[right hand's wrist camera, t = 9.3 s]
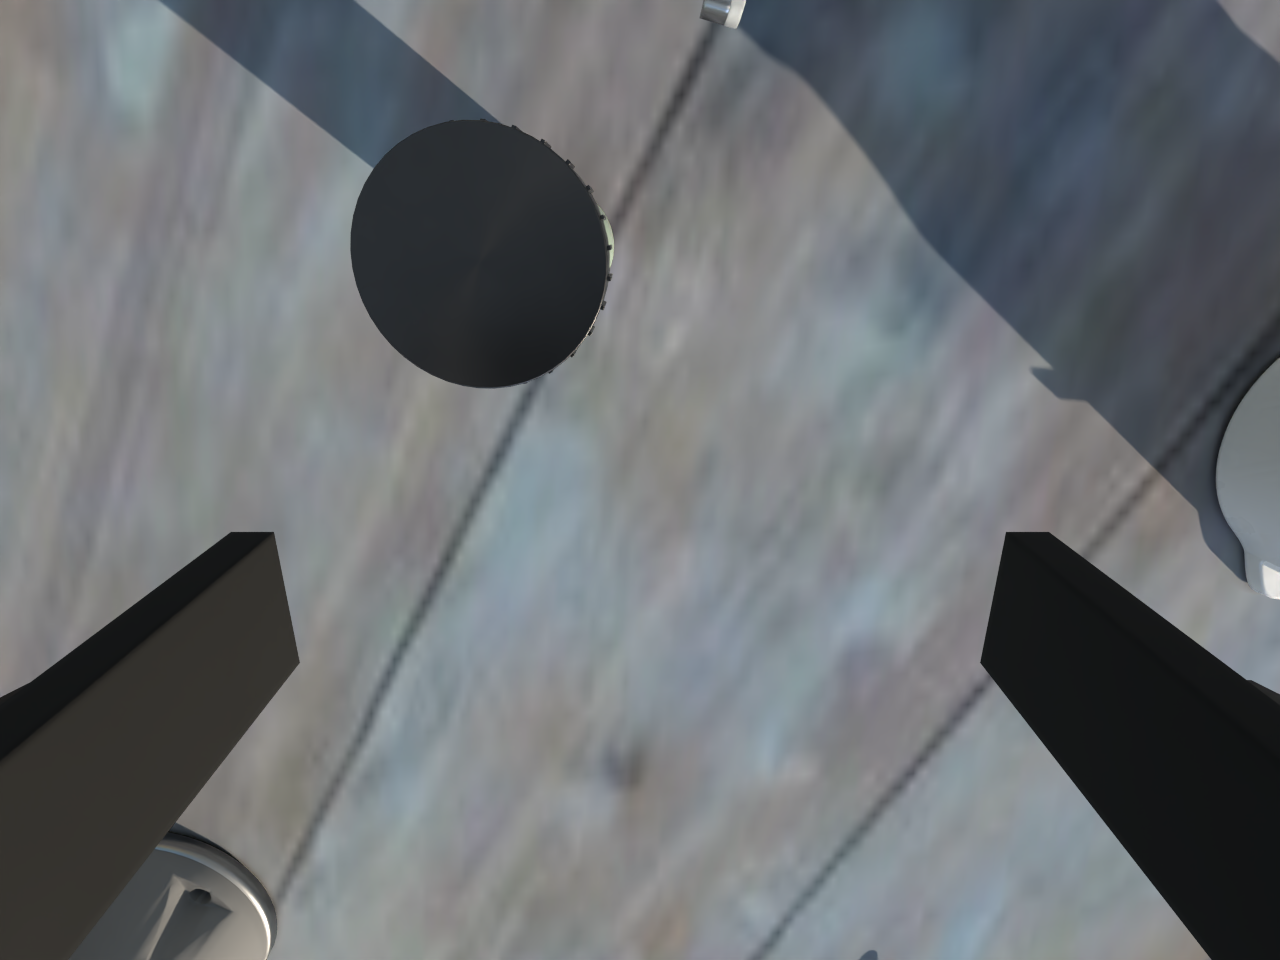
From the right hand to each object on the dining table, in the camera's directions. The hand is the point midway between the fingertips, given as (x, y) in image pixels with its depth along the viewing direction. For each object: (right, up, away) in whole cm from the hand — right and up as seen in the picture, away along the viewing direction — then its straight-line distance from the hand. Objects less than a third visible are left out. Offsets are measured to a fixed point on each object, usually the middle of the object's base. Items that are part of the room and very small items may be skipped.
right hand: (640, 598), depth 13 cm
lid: (-4, +7, +4) cm, 10 cm away
